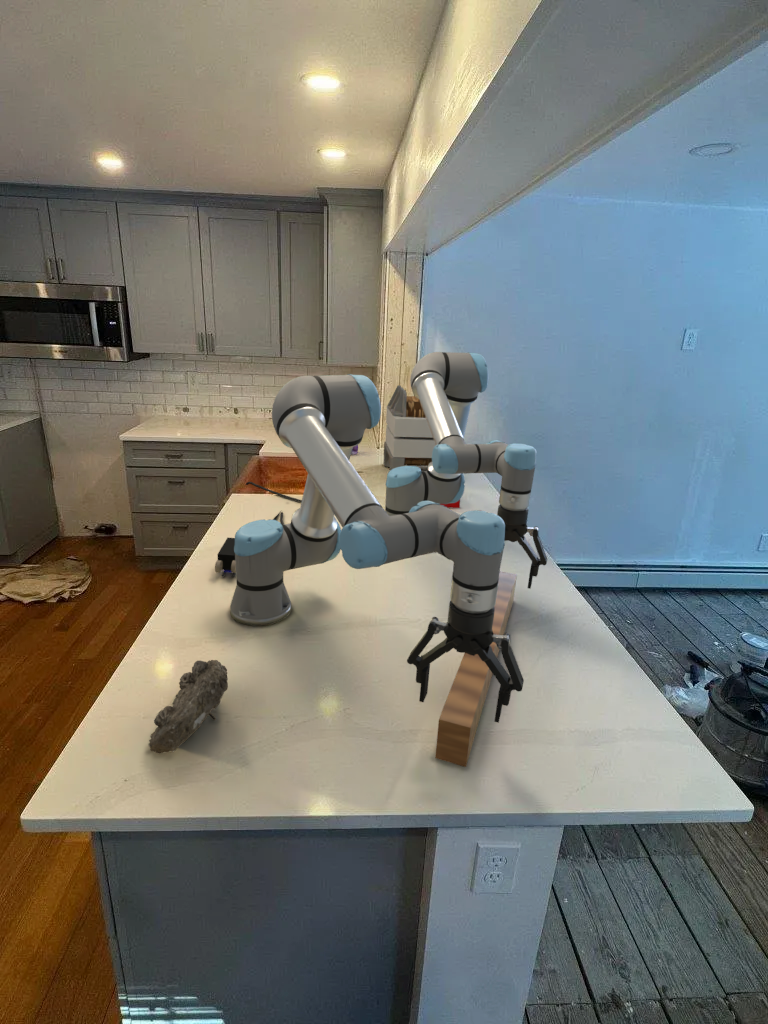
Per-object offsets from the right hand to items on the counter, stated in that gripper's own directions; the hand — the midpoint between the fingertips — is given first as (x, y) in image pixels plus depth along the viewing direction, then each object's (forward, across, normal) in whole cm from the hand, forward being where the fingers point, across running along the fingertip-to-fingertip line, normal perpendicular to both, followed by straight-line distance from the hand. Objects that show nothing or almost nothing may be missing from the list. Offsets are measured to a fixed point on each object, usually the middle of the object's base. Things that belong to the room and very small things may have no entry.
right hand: (503, 581), depth 150 cm
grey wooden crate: (+10, -56, +118) cm, 131 cm away
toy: (+10, -37, +86) cm, 94 cm away
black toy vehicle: (+8, -77, -10) cm, 78 cm away
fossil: (+7, -48, -67) cm, 82 cm away
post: (+8, 0, -28) cm, 29 cm away
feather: (+9, -88, +37) cm, 96 cm away
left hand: (-1, 0, -54) cm, 54 cm away
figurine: (+11, -101, +137) cm, 171 cm away
